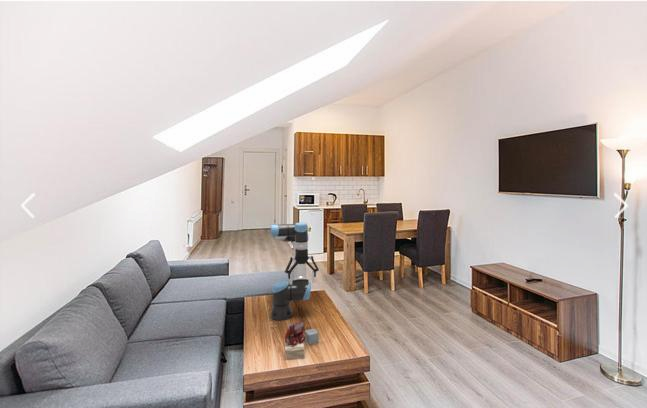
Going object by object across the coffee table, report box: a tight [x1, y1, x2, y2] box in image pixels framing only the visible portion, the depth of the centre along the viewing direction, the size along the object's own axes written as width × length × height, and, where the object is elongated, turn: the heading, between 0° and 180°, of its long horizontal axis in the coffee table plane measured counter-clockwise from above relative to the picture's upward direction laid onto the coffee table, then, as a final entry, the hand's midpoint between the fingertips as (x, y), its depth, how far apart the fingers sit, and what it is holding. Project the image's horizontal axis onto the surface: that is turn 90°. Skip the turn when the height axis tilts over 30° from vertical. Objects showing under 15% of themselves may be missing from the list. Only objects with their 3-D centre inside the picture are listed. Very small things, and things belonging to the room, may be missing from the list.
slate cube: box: [304, 328, 320, 346], centre depth 178 cm, size 6×6×6 cm
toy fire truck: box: [284, 320, 305, 346], centre depth 169 cm, size 7×12×10 cm, turn 131°
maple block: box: [284, 339, 305, 360], centre depth 169 cm, size 15×10×5 cm, turn 9°
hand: (302, 283), depth 185 cm, fingers open, 13 cm apart
